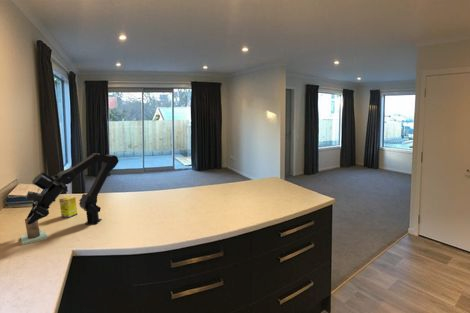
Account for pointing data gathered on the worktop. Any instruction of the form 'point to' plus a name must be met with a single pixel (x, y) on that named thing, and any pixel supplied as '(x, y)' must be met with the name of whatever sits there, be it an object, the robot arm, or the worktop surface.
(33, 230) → the walnut canister
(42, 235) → the sage green board
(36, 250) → the worktop surface
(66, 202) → the supplement box
